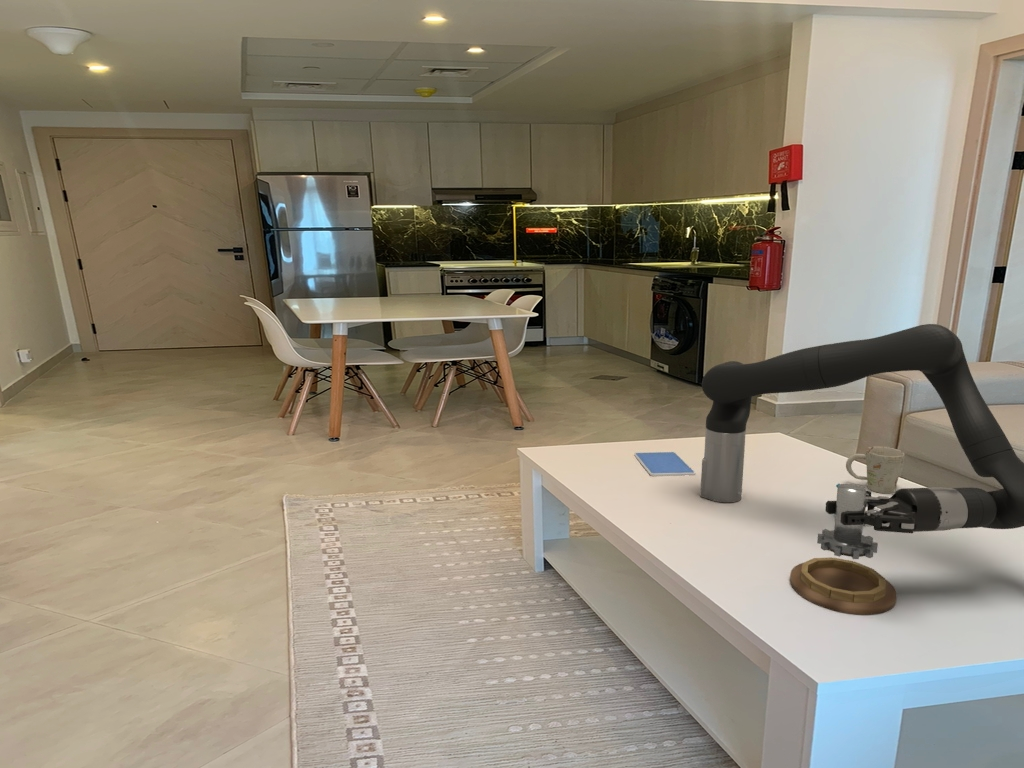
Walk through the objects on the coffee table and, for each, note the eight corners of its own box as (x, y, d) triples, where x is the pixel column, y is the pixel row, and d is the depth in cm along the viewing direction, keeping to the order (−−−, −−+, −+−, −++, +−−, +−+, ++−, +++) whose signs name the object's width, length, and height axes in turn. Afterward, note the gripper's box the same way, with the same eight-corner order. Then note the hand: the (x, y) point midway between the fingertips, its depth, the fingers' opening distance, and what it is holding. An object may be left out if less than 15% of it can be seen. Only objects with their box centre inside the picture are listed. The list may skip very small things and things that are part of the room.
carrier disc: (786, 600, 115) (787, 586, 114) (793, 559, 130) (794, 546, 129) (898, 624, 107) (900, 609, 107) (893, 578, 122) (894, 564, 122)
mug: (899, 497, 161) (903, 458, 159) (842, 488, 167) (845, 450, 165) (900, 487, 168) (905, 449, 166) (845, 478, 174) (849, 442, 172)
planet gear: (816, 552, 115) (820, 492, 113) (818, 532, 123) (823, 476, 121) (877, 563, 111) (883, 501, 109) (876, 541, 119) (881, 483, 117)
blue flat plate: (633, 456, 196) (633, 452, 196) (675, 455, 197) (675, 451, 197) (650, 478, 177) (650, 473, 177) (696, 477, 178) (696, 472, 178)
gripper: (905, 475, 123) (815, 478, 122) (960, 504, 109) (859, 508, 108) (901, 513, 124) (812, 517, 123) (955, 546, 110) (855, 551, 109)
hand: (834, 512), depth 115 cm, fingers closed on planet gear, 4 cm apart
